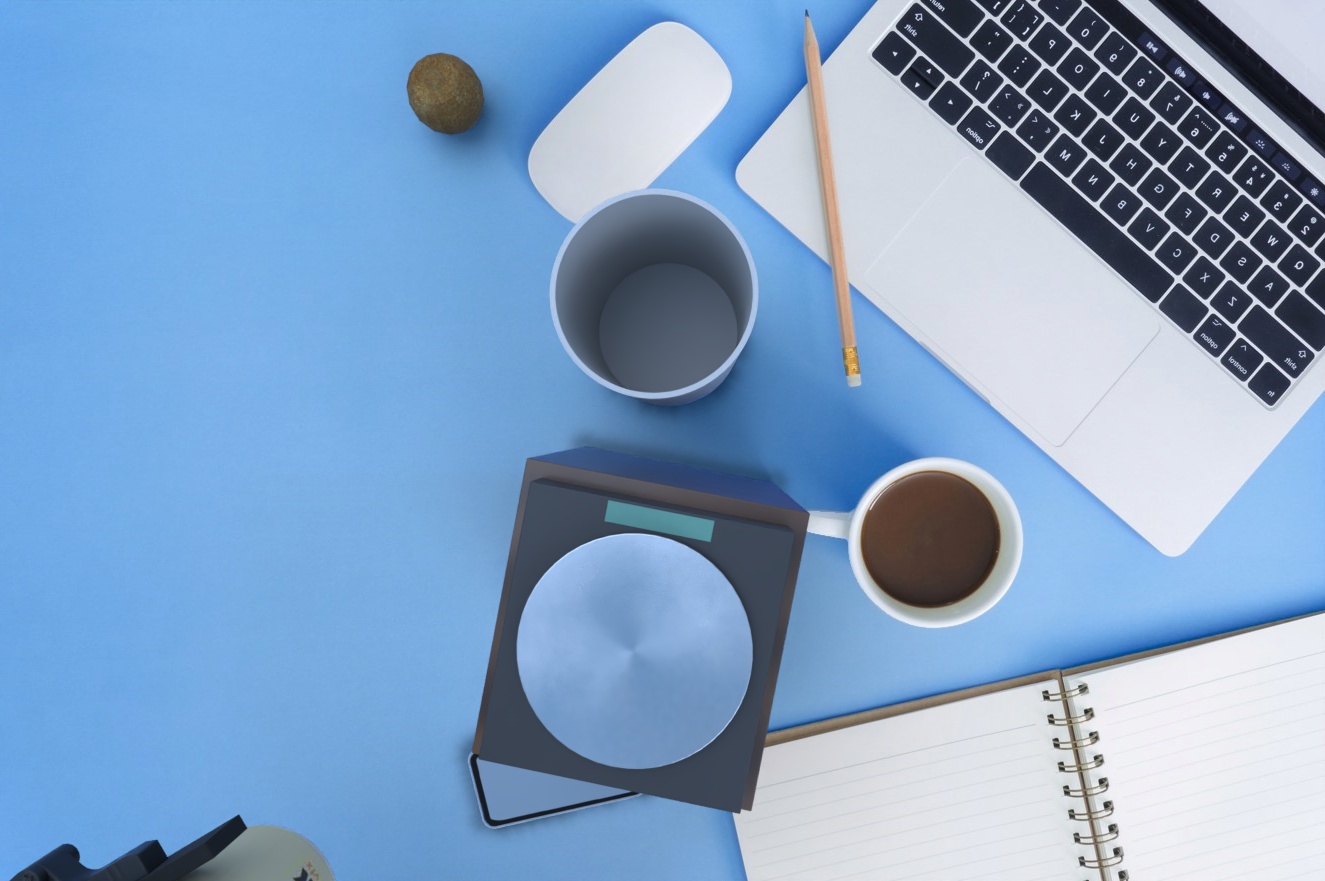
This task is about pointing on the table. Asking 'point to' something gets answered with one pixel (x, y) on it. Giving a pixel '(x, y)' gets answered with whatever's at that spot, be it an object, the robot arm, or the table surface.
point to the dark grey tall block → (672, 488)
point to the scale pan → (634, 650)
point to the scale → (730, 542)
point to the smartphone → (532, 793)
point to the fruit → (445, 93)
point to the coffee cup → (266, 858)
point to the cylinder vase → (655, 295)
